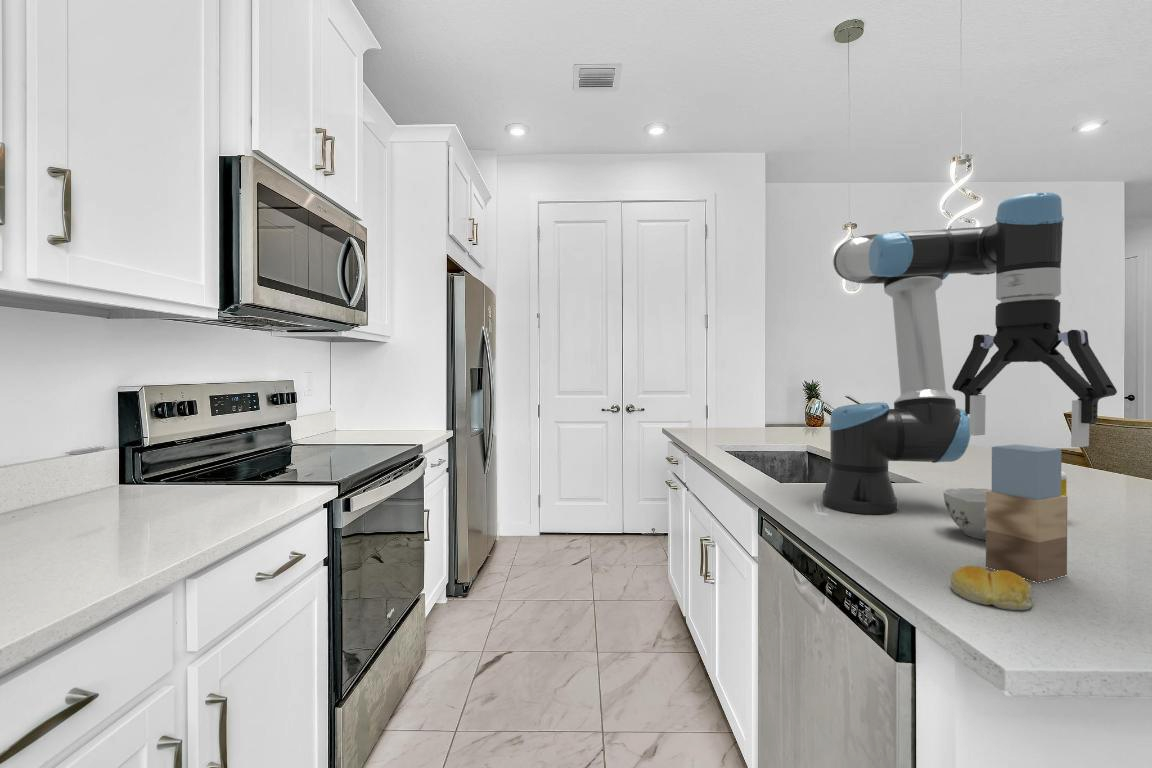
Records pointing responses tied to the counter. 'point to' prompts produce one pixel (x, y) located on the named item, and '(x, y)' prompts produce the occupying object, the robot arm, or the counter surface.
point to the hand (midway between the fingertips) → (1024, 440)
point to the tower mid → (1027, 516)
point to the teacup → (968, 510)
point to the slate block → (1026, 471)
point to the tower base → (1027, 556)
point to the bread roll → (993, 588)
